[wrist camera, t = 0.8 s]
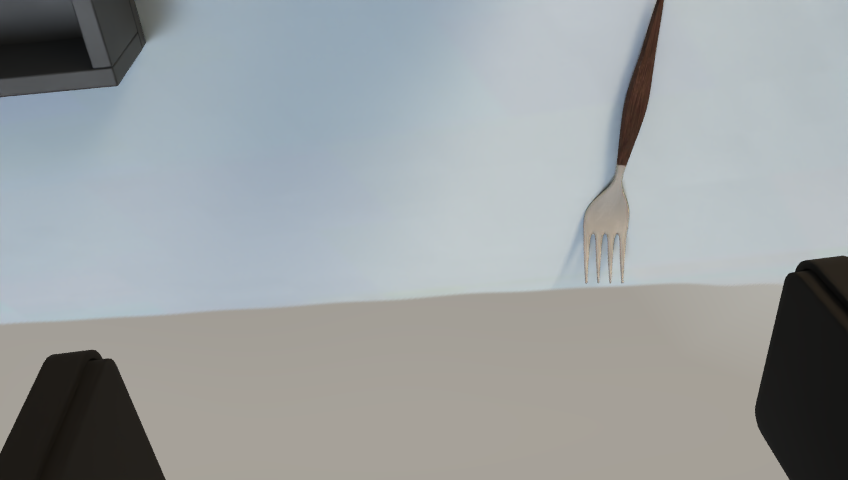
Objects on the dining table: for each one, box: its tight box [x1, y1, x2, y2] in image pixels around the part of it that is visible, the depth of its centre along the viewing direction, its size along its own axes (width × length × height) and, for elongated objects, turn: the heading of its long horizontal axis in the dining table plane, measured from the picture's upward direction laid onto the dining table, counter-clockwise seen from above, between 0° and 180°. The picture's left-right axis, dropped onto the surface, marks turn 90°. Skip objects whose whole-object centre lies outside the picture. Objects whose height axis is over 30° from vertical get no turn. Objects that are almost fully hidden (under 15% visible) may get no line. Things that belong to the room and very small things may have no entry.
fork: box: [583, 0, 664, 283], centre depth 39 cm, size 3×16×2 cm, turn 176°
